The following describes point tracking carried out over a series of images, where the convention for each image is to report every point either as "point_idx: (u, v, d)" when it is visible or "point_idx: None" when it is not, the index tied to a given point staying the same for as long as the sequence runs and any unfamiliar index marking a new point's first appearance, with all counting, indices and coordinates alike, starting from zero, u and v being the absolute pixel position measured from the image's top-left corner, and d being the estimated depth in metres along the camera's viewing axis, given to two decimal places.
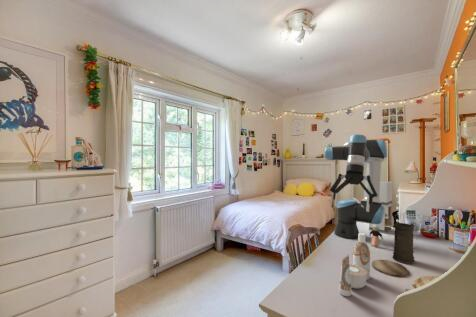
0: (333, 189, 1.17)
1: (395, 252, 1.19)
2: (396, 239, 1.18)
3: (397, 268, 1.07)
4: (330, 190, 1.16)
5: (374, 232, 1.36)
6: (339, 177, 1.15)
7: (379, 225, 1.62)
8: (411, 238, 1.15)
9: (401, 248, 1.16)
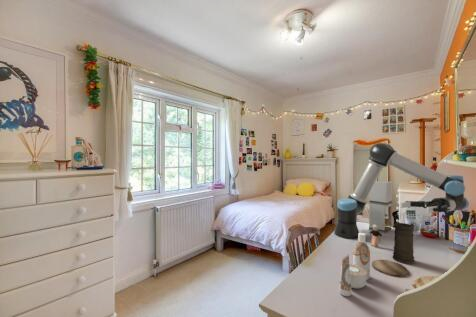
0: None
1: (395, 252, 1.19)
2: (396, 239, 1.18)
3: (397, 268, 1.07)
4: (445, 212, 1.14)
5: (374, 232, 1.36)
6: None
7: (379, 225, 1.62)
8: (411, 238, 1.15)
9: (401, 248, 1.16)
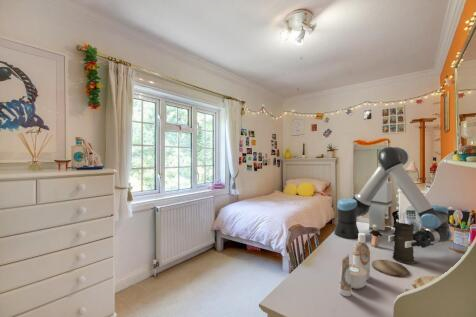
0: None
1: (395, 252, 1.19)
2: (396, 239, 1.18)
3: (397, 268, 1.07)
4: (422, 247, 1.13)
5: (374, 232, 1.36)
6: None
7: (379, 225, 1.62)
8: (411, 238, 1.15)
9: (401, 248, 1.16)
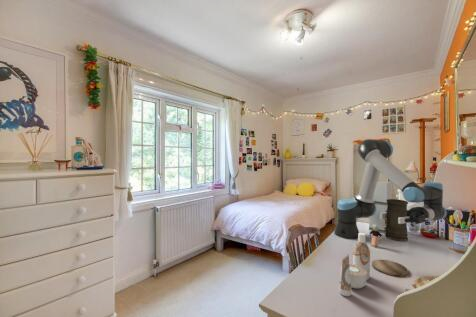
0: None
1: (388, 230, 1.10)
2: (389, 216, 1.10)
3: (397, 268, 1.07)
4: (416, 223, 1.05)
5: (374, 232, 1.36)
6: None
7: (379, 225, 1.62)
8: (405, 214, 1.07)
9: (394, 225, 1.08)
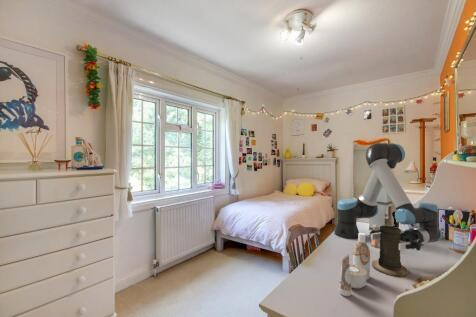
0: None
1: (381, 257, 1.09)
2: (382, 243, 1.09)
3: None
4: (418, 250, 1.01)
5: (374, 232, 1.36)
6: None
7: (379, 225, 1.62)
8: (397, 242, 1.05)
9: (387, 253, 1.06)
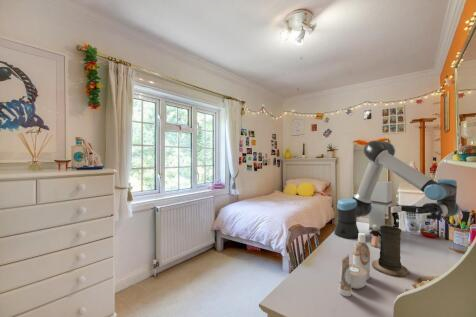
0: None
1: (381, 257, 1.09)
2: (382, 243, 1.09)
3: None
4: (439, 220, 1.05)
5: (374, 232, 1.36)
6: None
7: (379, 225, 1.62)
8: (398, 242, 1.05)
9: (387, 253, 1.06)
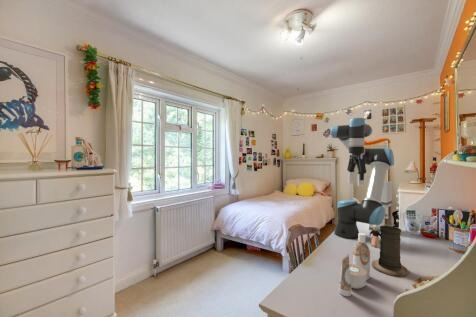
0: None
1: (381, 257, 1.09)
2: (382, 243, 1.09)
3: None
4: None
5: (374, 232, 1.36)
6: (349, 158, 1.35)
7: (379, 225, 1.62)
8: (398, 242, 1.05)
9: (387, 253, 1.06)
